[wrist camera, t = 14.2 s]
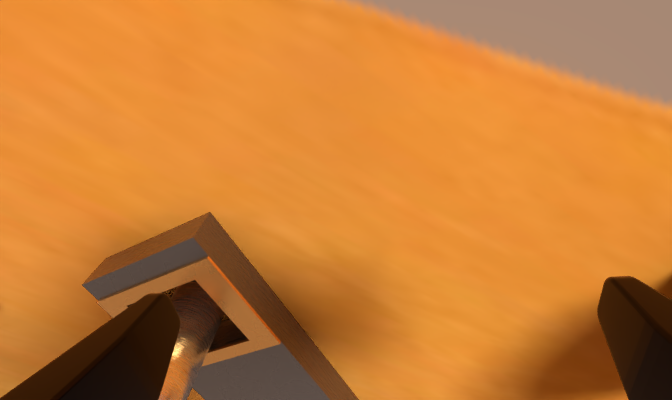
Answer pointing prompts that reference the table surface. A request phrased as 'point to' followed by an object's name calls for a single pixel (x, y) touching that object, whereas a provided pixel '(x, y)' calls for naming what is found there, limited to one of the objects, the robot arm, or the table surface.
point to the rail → (237, 303)
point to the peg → (190, 338)
